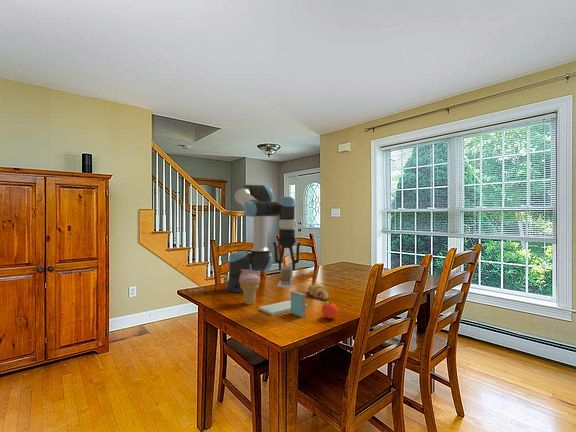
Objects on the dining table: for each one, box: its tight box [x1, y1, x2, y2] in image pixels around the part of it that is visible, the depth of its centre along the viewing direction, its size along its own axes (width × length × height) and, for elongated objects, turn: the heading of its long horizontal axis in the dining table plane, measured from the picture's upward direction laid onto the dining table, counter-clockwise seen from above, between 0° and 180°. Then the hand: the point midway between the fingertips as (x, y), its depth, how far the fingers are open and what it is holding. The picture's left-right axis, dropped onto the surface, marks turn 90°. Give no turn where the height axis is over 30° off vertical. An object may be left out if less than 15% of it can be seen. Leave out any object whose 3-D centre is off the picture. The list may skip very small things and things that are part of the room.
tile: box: [290, 290, 306, 318], centre depth 140 cm, size 8×2×10 cm, turn 39°
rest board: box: [258, 299, 309, 316], centre depth 150 cm, size 11×22×1 cm, turn 129°
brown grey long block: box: [276, 265, 293, 288], centre depth 142 cm, size 19×6×6 cm, turn 175°
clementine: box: [321, 301, 338, 320], centre depth 136 cm, size 8×7×7 cm
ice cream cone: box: [239, 264, 261, 306], centre depth 158 cm, size 11×11×20 cm
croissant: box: [308, 283, 329, 300], centre depth 173 cm, size 21×10×8 cm, turn 22°
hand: (286, 277), depth 147 cm, fingers closed on brown grey long block, 4 cm apart
